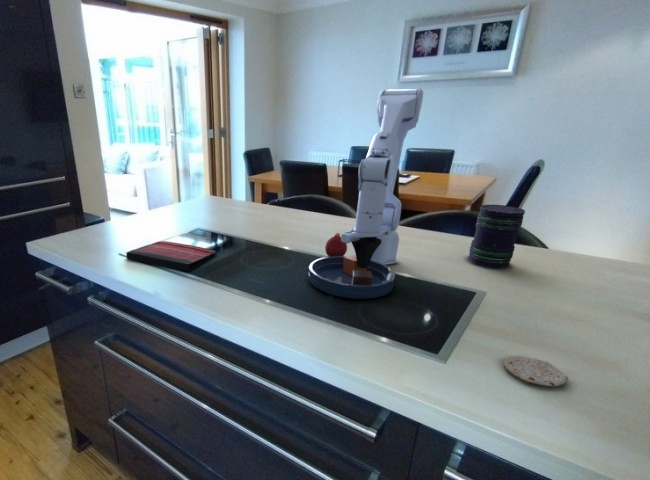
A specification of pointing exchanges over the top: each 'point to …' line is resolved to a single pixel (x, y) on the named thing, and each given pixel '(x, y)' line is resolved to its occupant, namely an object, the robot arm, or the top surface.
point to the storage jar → (495, 236)
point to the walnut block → (361, 277)
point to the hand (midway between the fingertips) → (362, 266)
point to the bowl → (349, 279)
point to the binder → (171, 255)
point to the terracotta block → (351, 265)
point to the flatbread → (534, 371)
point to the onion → (335, 246)
